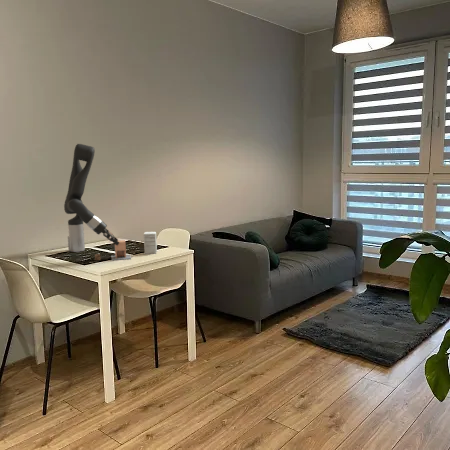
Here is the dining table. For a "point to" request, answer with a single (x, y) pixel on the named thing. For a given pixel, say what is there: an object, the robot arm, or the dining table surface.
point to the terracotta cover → (120, 249)
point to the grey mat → (120, 257)
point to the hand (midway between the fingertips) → (117, 242)
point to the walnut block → (97, 257)
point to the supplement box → (150, 243)
